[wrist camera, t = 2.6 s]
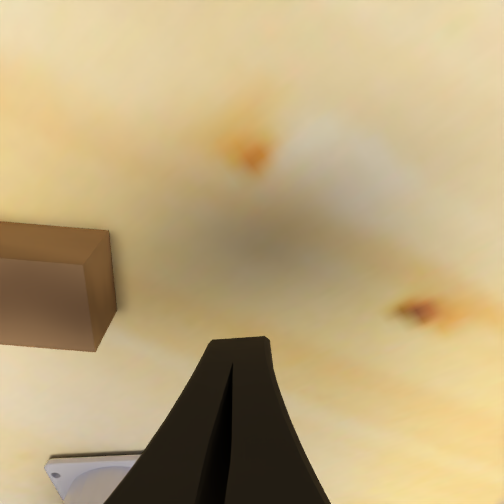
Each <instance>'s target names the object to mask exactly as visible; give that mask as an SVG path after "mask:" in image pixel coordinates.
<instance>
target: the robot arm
mask: <svg viewBox="0 0 504 504" xmlns="http://www.w3.org/2000/svg"><path fill="white" fill-rule="evenodd" d="M44 469H45V471H46V473H47V474H48V476H49V478H50V479H51V481H52V483H53V484H54V486H55V488H56V490H57V491H58V493H59V495H60V496H61V498H62V500H63V504H331V503H330V501H329V499H328V497H327V495H326V494H325V492H324V490H323V488H322V486H321V484H320V482H319V480H318V478H317V476H316V474H315V472H314V470H313V468H312V466H311V464H310V462H309V460H308V458H307V456H306V454H305V452H304V449H303V447H302V445H301V443H300V441H299V438H298V436H297V434H296V432H295V429H294V427H293V424H292V422H291V420H290V417H289V414H288V412H287V409H286V406H285V404H284V401H283V398H282V396H281V393H280V390H279V387H278V384H277V380H276V377H275V373H274V369H273V362H272V354H271V347H270V340H269V339H268V338H266V337H265V336H260V337H245V338H231V339H217V340H212V341H211V342H210V343H209V344H208V346H207V348H206V350H205V352H204V354H203V356H202V357H201V359H200V361H199V363H198V365H197V367H196V369H195V371H194V372H193V374H192V376H191V378H190V379H189V381H188V383H187V385H186V386H185V388H184V390H183V391H182V393H181V395H180V396H179V398H178V400H177V401H176V403H175V405H174V406H173V408H172V409H171V411H170V413H169V414H168V416H167V417H166V419H165V420H164V422H163V423H162V425H161V426H160V428H159V429H158V431H157V432H156V434H155V435H154V437H153V438H152V440H151V441H150V442H149V444H148V445H147V447H146V448H145V450H144V451H143V453H142V454H138V455H117V456H96V457H74V458H53V459H49V460H48V461H47V463H46V465H45V467H44Z"/></svg>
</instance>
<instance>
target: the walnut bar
mask: <svg viewBox="0 0 504 504" xmlns="http://www.w3.org/2000/svg"><path fill="white" fill-rule="evenodd" d="M116 311H117V307H116V297H115V287H114V277H113V267H112V258H111V248H110V238H109V231H107V230H95V229H83V228H72V227H60V226H48V225H36V224H24V223H12V222H1V221H0V344H2V345H14V346H26V347H38V348H50V349H62V350H75V351H87V352H96V350H97V348H98V346H99V344H100V342H101V340H102V338H103V336H104V335H105V333H106V331H107V329H108V327H109V325H110V323H111V321H112V319H113V317H114V315H115V313H116Z"/></svg>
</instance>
